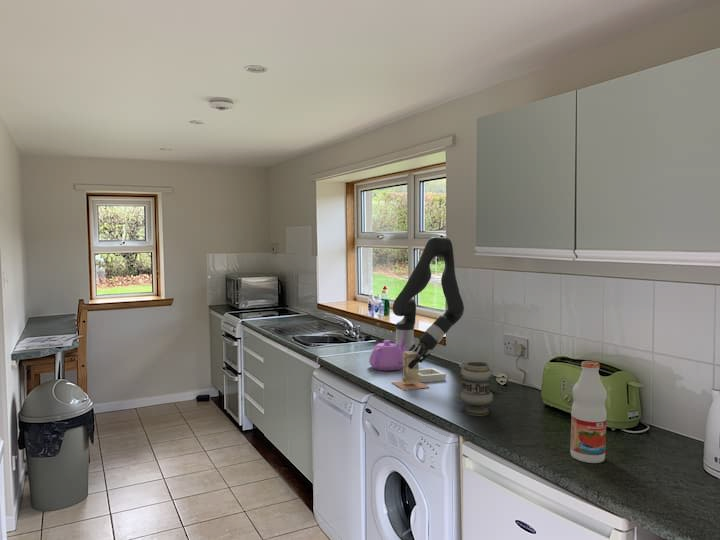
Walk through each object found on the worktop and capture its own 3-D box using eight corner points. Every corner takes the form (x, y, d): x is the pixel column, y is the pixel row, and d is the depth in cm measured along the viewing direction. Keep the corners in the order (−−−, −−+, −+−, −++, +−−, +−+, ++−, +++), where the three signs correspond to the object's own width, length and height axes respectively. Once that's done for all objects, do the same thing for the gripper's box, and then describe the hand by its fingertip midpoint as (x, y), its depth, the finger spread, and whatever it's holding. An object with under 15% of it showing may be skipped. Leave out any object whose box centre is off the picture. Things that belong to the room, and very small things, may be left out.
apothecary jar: (453, 408, 203) (454, 361, 202) (481, 405, 207) (482, 358, 206) (471, 418, 192) (472, 368, 191) (499, 414, 196) (501, 365, 195)
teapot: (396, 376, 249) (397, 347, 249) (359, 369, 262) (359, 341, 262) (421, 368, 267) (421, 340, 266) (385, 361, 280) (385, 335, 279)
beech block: (402, 381, 236) (403, 351, 235) (413, 380, 237) (413, 350, 237) (407, 384, 231) (407, 354, 230) (418, 383, 233) (418, 353, 232)
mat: (392, 383, 238) (392, 382, 238) (416, 381, 242) (416, 380, 242) (403, 390, 226) (403, 389, 226) (429, 388, 231) (429, 386, 231)
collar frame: (410, 376, 251) (410, 369, 250) (433, 374, 255) (433, 367, 255) (421, 382, 239) (421, 375, 239) (445, 380, 243) (445, 373, 243)
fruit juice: (591, 450, 163) (594, 358, 162) (612, 462, 154) (615, 365, 153) (563, 452, 162) (566, 359, 160) (582, 465, 152) (585, 366, 151)
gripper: (419, 328, 242) (394, 357, 239) (434, 334, 229) (408, 364, 225) (429, 339, 244) (405, 368, 241) (445, 345, 231) (419, 375, 227)
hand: (406, 366), depth 233 cm, fingers closed on beech block, 5 cm apart
